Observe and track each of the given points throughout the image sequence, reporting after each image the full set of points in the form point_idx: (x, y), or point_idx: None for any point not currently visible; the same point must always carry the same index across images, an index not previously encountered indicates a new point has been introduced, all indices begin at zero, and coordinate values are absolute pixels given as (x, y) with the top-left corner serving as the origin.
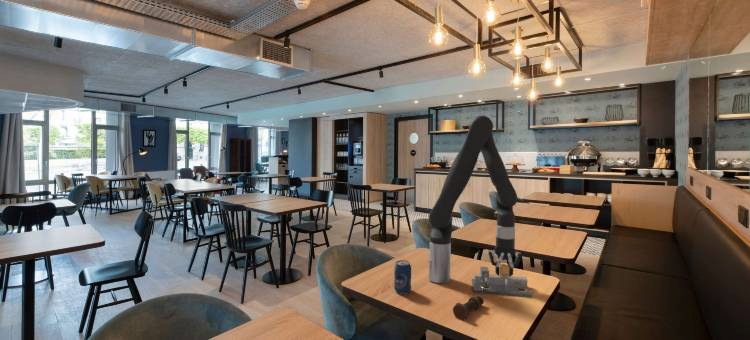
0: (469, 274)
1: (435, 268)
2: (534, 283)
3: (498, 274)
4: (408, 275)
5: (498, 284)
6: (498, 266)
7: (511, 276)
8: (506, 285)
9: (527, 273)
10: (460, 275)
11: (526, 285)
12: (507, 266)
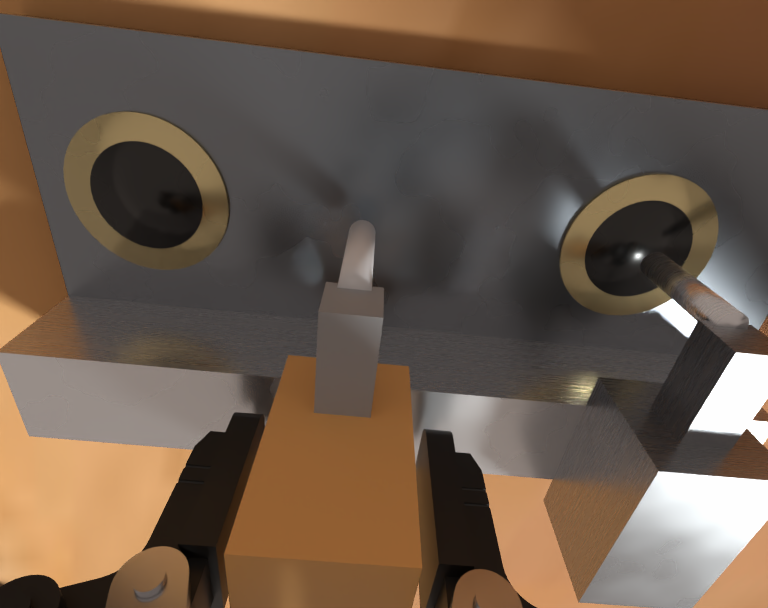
0: None
1: None
2: (5, 419)
3: (443, 439)
4: None
5: (428, 333)
6: (470, 587)
7: None
8: (361, 225)
9: (73, 579)
10: None
11: (66, 305)
12: (266, 581)
